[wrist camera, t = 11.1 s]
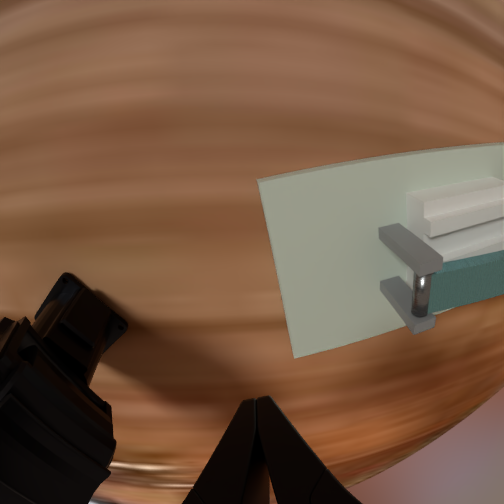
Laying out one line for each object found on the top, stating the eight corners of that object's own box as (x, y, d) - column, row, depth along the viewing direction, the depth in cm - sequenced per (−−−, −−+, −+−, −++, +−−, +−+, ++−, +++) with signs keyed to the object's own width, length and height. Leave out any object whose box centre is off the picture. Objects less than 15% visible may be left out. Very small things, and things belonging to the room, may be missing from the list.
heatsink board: (292, 350, 25) (308, 411, 19) (256, 179, 19) (270, 210, 13) (498, 281, 24) (536, 314, 18) (510, 141, 18) (564, 158, 12)
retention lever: (415, 329, 16) (559, 286, 14) (421, 272, 15) (571, 238, 12) (406, 309, 18) (546, 273, 16) (408, 255, 17) (555, 226, 14)
